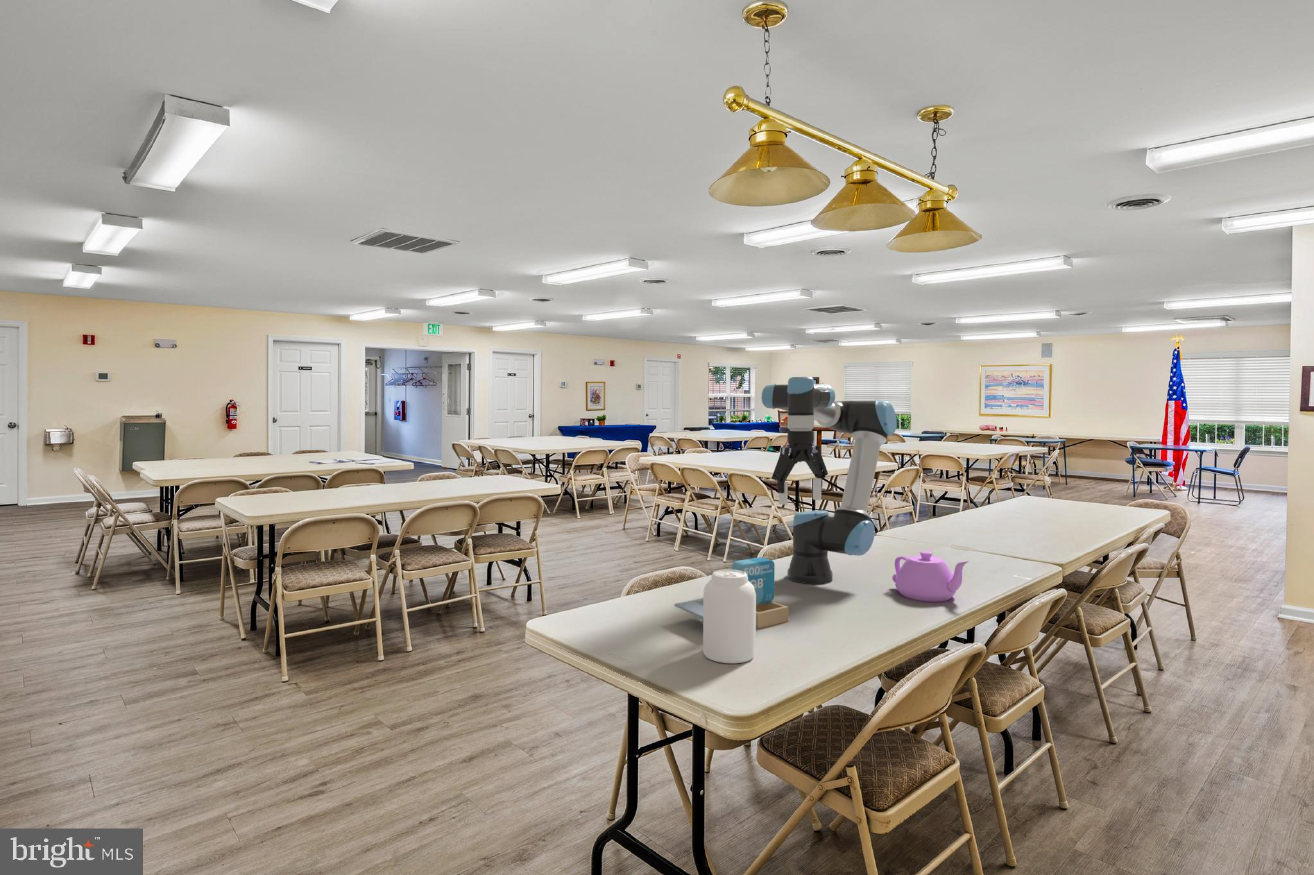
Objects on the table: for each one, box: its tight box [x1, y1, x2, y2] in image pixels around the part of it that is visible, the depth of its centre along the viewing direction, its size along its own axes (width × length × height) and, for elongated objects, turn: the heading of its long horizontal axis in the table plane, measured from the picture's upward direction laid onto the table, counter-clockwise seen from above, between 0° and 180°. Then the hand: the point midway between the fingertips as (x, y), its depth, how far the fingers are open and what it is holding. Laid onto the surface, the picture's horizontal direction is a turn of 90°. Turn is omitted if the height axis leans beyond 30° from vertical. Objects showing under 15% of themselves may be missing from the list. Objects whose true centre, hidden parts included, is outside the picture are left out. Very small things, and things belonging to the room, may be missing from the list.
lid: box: [673, 598, 703, 620], centre depth 183 cm, size 11×17×4 cm, turn 33°
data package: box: [731, 556, 775, 605], centre depth 191 cm, size 12×4×12 cm, turn 121°
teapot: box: [892, 550, 969, 603], centre depth 212 cm, size 25×18×14 cm
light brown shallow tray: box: [756, 600, 790, 629], centre depth 192 cm, size 11×17×4 cm, turn 33°
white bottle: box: [702, 568, 757, 664], centre depth 162 cm, size 12×12×20 cm
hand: (800, 502), depth 200 cm, fingers open, 13 cm apart
